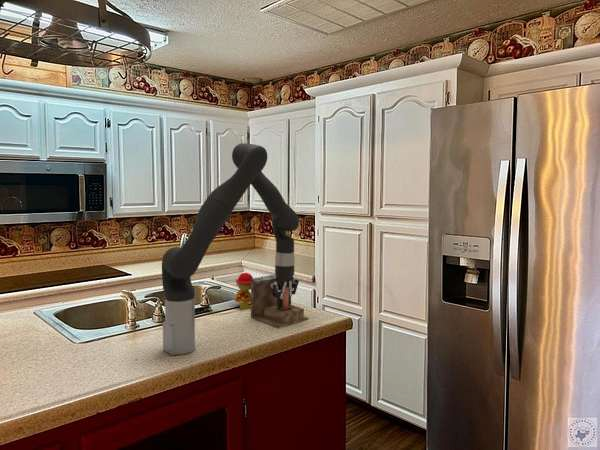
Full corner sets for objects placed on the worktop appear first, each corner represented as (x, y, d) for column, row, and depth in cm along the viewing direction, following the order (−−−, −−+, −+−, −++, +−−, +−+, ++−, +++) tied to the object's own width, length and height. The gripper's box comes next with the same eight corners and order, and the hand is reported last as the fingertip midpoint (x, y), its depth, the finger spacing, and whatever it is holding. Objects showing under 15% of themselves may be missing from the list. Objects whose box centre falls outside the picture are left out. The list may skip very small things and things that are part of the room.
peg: (283, 313, 172) (284, 288, 171) (277, 311, 175) (278, 286, 174) (290, 312, 175) (290, 287, 174) (284, 309, 177) (284, 285, 176)
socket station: (277, 328, 166) (278, 287, 164) (250, 317, 178) (251, 278, 176) (308, 319, 177) (309, 280, 175) (280, 309, 189) (281, 273, 187)
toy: (254, 311, 186) (254, 276, 184) (232, 310, 186) (232, 275, 184) (257, 303, 197) (257, 270, 195) (236, 303, 197) (237, 269, 196)
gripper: (277, 267, 165) (276, 312, 167) (304, 262, 175) (303, 305, 177) (264, 264, 170) (264, 307, 172) (291, 259, 180) (290, 301, 182)
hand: (284, 306), depth 174 cm, fingers closed on peg, 3 cm apart
